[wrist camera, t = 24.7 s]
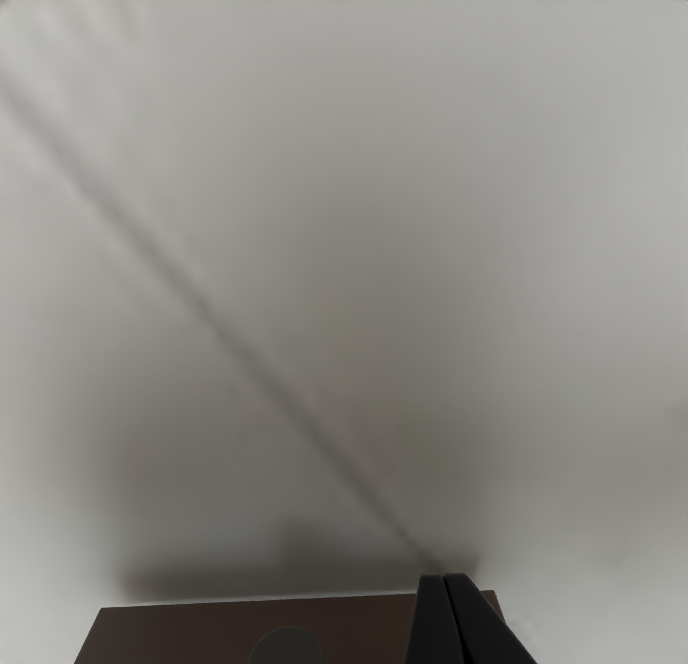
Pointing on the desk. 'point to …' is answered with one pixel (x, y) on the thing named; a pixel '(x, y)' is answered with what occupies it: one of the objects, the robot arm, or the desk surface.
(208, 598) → the desk surface
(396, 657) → the drawer
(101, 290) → the desk surface
